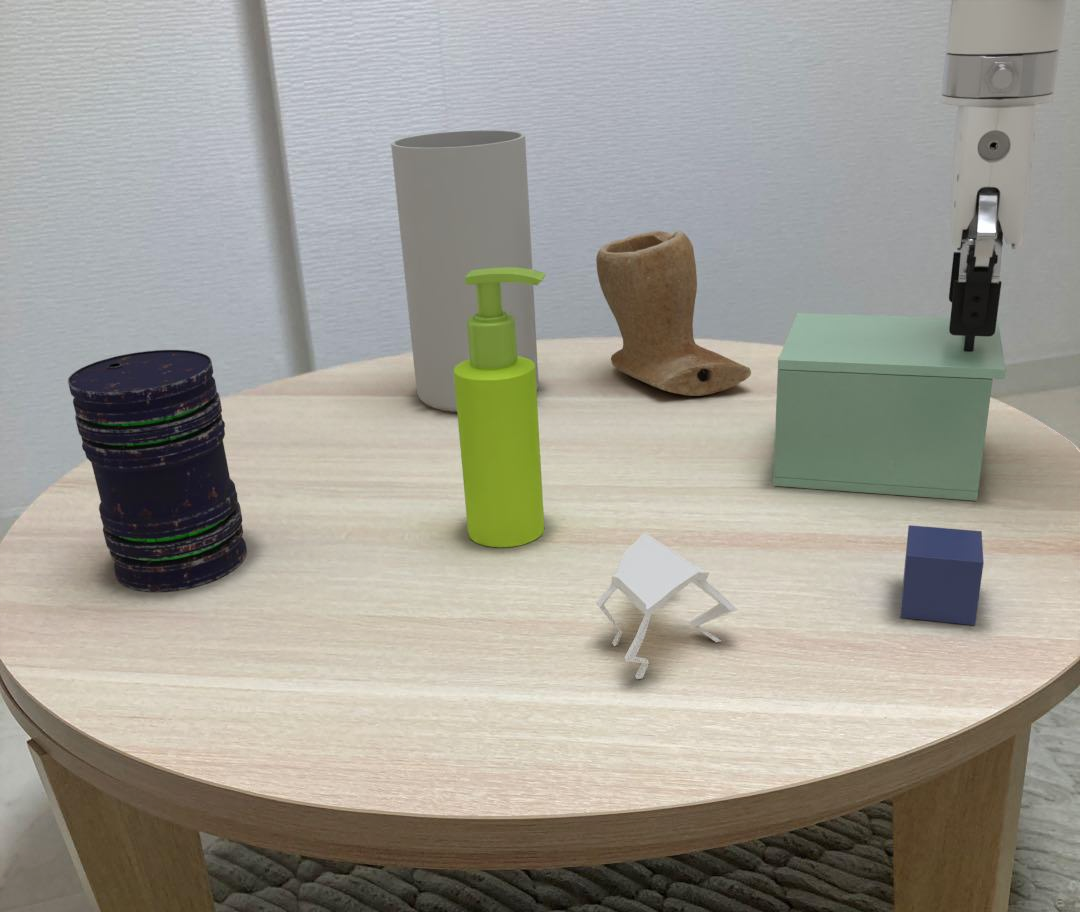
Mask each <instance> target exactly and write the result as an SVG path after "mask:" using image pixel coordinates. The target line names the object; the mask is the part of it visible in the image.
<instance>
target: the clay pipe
mask: <svg viewBox="0 0 1080 912" xmlns="http://www.w3.org/2000/svg"><path fill="white" fill-rule="evenodd" d="M595 260H596V273H597V278H598V281H599V286H600V289H601V292H602V294H603V297H604V299H605V301H606V303H607V306H608V308H609V309H610V311H611V313H612V315H613V317H614V319H615V321H616V324H617V326H618V329H619V332H620V336H621V338H622V348H621V349H619V350H616V351H615V352H614V353H613V354H612V355H611V356H610V362H611V365H612V366H613V367H614V368H615V369H617V370H618V371H620V373H621V372H622V373H624V374H625V375H627V376H629V377H631V378H633V379H635V380H637V381H640V382H642V383H645V384H646V385H649V386H651V387H654V388H656V389H659V390H662V391H665V392H669V393H673V394H678V395H683V396H690V397H699V396H706V395H707V396H708V395H713V394H715V393H717V392H723V391H725V390H728V389H730V388H732V387H735V386H736V385H738V384H740V383H742V382H745V381H746V380H748V379H749V378H750V376H752V370H751V369H750V367H748V366H746V365H743V364H741V363H739V362H737V361H735V360H732V359H730V358H728V357H726V356H724V355H721V354H720V353H717V352H715V351H712V350H710V349H707V348H705V347H702V346H700V345H698V344H697V343H696V340H695V338H694V328H693V327H694V325H693V324H694V313H695V306H696V305H695V304H696V297H697V290H698V276H697V265H696V259H695V251H694V246H693V243H692V241H691V239H690V238H689V237H688V235H687V234H686V233H685V232H684V231H682V230H676V231H675V232H674V233H669V232H667V231H663V230H653V231H652V230H651V231H647V232H642V233H637V234H633V235H630V236H627V237H625V238H620V239H616V240H613V241H611V242H608V243H606V244H604V245H603V246H602V247H600V249H598V252H597V254H596V259H595Z"/></svg>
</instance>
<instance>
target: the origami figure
mask: <svg viewBox="0 0 1080 912" xmlns="http://www.w3.org/2000/svg"><path fill="white" fill-rule="evenodd" d="M709 575H710V572H709V571H707V570H705V569H703V568H700V567H698V566H696V565H695V564H693V562H691V561H689V560H687V559H685V558H684V557H683V556H681V554H678V553H677V552H675V551H674V550H672V549H671V548H670V547H667V546H666V545H665V544H663V543H662V542H660V541H659V540H657V539H656V538H654V537H653V536H651V535H650V531H647V532H645V533H643V534H642V535H640V537H638V538H637V539H636V540H635V541H634V542H633V543H632V544H631V545H630V546H628V548H627V549H626V550H625V551H624V553H623V555H622V557H621V559H620V561H619V564H618V567H617V570H616V572H615V573H614V574H613V575H611V581H610V585H609V586H608V588H607V589H606V590H605V591H604V592H603V594H602V595H601V596H600V597H599V598H598V600H597V601H596V605H597V606H598V608H599V609H600V610H601V611H602V612H603V614H604V615H605V616H606V618H607V619H608V620H609V621H610V622H611V624H612V626H613V627H614V628H615V629H616V630H617V632H616V634H615V636H614V638H613V640H612V642H611V644H612V645H613V646H614V647H615V646H616V647H617V645H618V644H619V641H620V640H621V637H622V635H623V630H622V629H621V628H620V626H619V625H618V624H617V622H616V620H615V619H614V618H613V616H612V615H611V613H610V611H609V610H608V609H607V608H606V605H605V604H606V603H607V601H608V600H609V599H610V598H611V596H612V595H613V594H614V592H615V591H616V590H617V589H618V590H619V591H620V592H621V593H622V594H623V596H625V597H626V598H627V599H628V600H629V601H630V602H631V603H632V604H633V605H634V606H635V607H636V608H637V609H638V610H639V611H640V612H641V613H642V614H644V615H643V618H642V620H641V622H640V624H639V627H638V630H637V632H636V634H635V637H634V639H633V640H632V643H631V645H630V646H629V648H628V650H627V652H626V654H625V655H624V660H625V662H626V663H627V662H628V663H639V664H640V666H639V668H638V669H637V672H636V673H635V675H634V677H635V678H636V680H641V679H644V676H645V674H646V672H647V669H648V666H649V664H650V661H649V660H648V658H646V657H638V656H637V655H638V653H639V650H640V648H641V646H642V644H643V641H644V639H645V636H646V633H647V630H648V627H649V624H650V620H651V618H652V615H654V614H655V613H656V612H657V611H658V610H659V609H660V608H661V607H663V606H664V605H665V604H666V603H667V602H668V601H669V600H671V598H673V597H674V596H675V595H676V594H678V593H679V592H680V591H682V590H683V589H684V588H686V587H687V586H689V585H690V584H694V585H695V586H696V587H698V588H699V589H700V590H702V592H704V593H705V594H707V595H708V596H710V597H711V598H712V599H713V600H714V601H716V602H717V603H718V604H716V605H714V606H713V607H711V608H710V609H708V610H706V611H705V612H703V613H702V614H700V615H698V616H697V617H695V618H694V619H692V620H690V621H689V622H688V624H689V625H690V626H692V627H694V628H695V629H696V630H698V631H699V632H700V633H702V634H703V635H705V636H706V637H708V638H710V640H712V641H714V642H715V643H720V642H722V640H721V639H719V638H718V637H716V636H715V635H714V634H712V633H710V632H709V631H707V630H706V629H704V628H703V627H702V625H703V624H706V623H709V622H711V621H714V620H716V619H718V618H721V617H723V616H726V615H728V614H731V613H733V612H736V611H738V610H739V608H737V607H736V606H735V605H734V604H733V603H731V602H730V600H728V599H727V598H726V597H725V596H724V595H723V594H722V593H720V591H719V590H717V589H716V588H715V587H714V586H713V585H712V584H711V583H709V581H708V580H707V579H708V577H709Z"/></svg>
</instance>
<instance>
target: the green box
mask: <svg viewBox="0 0 1080 912" xmlns="http://www.w3.org/2000/svg"><path fill="white" fill-rule="evenodd" d="M992 387H993V379H986V378H963V377H940V376H918V375H895V374H873V373H850V372H827V371H805V370H782V369H778V368H777V378H776V402H775V403H776V404H775V426H774V430H775V431H774V448H773V449H774V451H773V474H772V475H773V477H772V486H773V487H785V488H798V489H811V490H825V491H838V492H852V493H864V494H866V493H867V494H876V495H877V494H879V495H890V496H891V495H892V496H894V495H895V496H906V497H918V498H934V499H947V500H961V501H971V502H972V501H973V502H977V501H978V498H979V497H978V496H979V488H980V483H981V482H980V480H981V473H982V467H983V466H982V465H983V458H984V449H985V442H986V433H987V427H988V420H989V419H988V418H989V411H990V403H991V396H992Z"/></svg>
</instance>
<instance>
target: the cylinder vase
mask: <svg viewBox="0 0 1080 912" xmlns="http://www.w3.org/2000/svg"><path fill="white" fill-rule="evenodd" d="M390 149H391V156H392V167H393V176H394V186H395V194H396V195H395V196H396V204H397V205H396V206H397V215H398V223H399V235H400V244H401V252H402V254H401V255H402V263H403V273H404V281H405V283H404V284H405V291H406V301H407V309H408V311H407V312H408V320H409V330H410V339H411V350H412V357H413V358H412V359H413V368H414V369H413V370H414V379H415V389H416V394H417V396H418V398H419V400H420V401H421V402H422V403H424V404H425V405H427V406H429V407H431V408H433V409H435V410H440V411H445V412H451V413H457V404H456V393H455V381H454V368H455V366H457V365H458V364H459V363H461V362H463V361H466V360H469V359H470V352H469V340H468V328H467V320H468V319H469V318H470V317H472V316H473V315H474V314H475V313H478V303H477V290H476V284H473V285H466V280H465V277H466V276H467V274H468V273H469V272H470V271H471V270H479V269H488V268H500V267H516V268H525V269H530V270H533V256H532V255H533V254H532V238H531V237H532V236H531V235H532V234H531V220H530V219H531V218H530V217H531V216H530V200H529V182H528V164H527V163H528V161H527V145H526V133H524V132H520V131H514V130H496V129H494V130H493V129H489V130H488V129H484V130H483V129H481V130H480V129H479V130H477V129H476V130H457V131H456V130H455V131H445V132H444V131H443V132H434V133H425V134H418V135H411V136H406V137H402V138H399V139H395V140H393V141H392V142H391V143H390ZM500 287H501V301H502V311H505V312H507V314H510V315H512V316H513V317H514V319H515V332H516V347H517V356H520V357H525V358H528V359H530V360H532V361H533V362H534V363H535V373H536V390H537V391H538V388H539V382H540V381H539V365H538V364H539V363H538V348H537V347H538V346H537V344H538V343H537V330H536V327H537V326H536V311H535V308H536V307H535V293H534V292H535V291H534V285H531V284H525V283H517V282H503V283H500Z"/></svg>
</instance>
